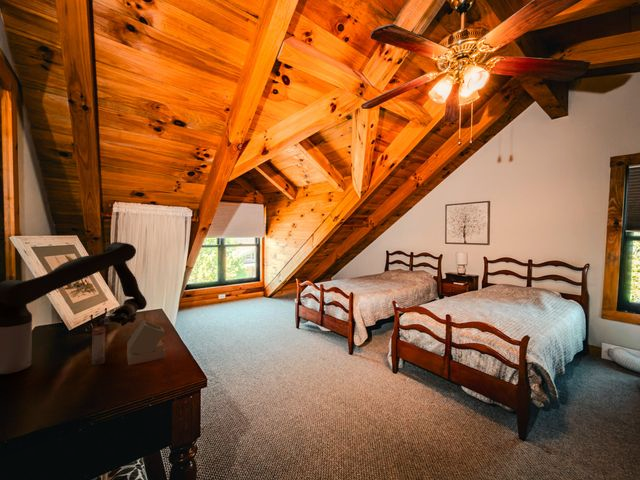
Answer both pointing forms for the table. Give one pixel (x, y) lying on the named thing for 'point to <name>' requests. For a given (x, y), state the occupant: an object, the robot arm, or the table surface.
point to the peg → (98, 345)
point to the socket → (146, 343)
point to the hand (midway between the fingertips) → (110, 324)
